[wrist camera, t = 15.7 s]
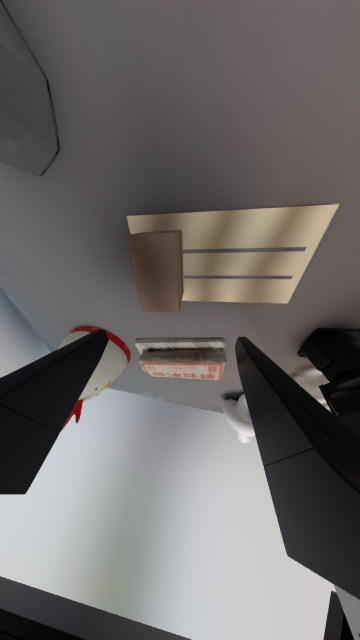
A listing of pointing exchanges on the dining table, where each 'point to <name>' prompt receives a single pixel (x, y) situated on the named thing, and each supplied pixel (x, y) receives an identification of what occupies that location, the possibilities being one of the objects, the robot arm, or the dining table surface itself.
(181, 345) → the packaged product
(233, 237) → the board
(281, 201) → the dining table surface
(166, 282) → the block
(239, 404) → the white knot sculpture
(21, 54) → the coffeepot
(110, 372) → the kitchen timer
